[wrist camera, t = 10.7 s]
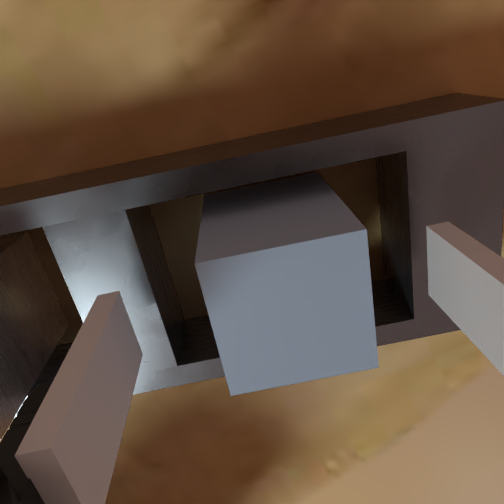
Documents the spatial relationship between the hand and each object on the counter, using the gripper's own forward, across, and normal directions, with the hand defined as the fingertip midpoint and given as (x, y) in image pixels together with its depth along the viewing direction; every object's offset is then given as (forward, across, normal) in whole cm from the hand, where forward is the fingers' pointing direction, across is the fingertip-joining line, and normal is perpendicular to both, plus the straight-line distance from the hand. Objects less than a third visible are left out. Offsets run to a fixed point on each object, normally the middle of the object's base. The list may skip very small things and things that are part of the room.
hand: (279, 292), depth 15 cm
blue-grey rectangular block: (+5, 0, 0) cm, 5 cm away
